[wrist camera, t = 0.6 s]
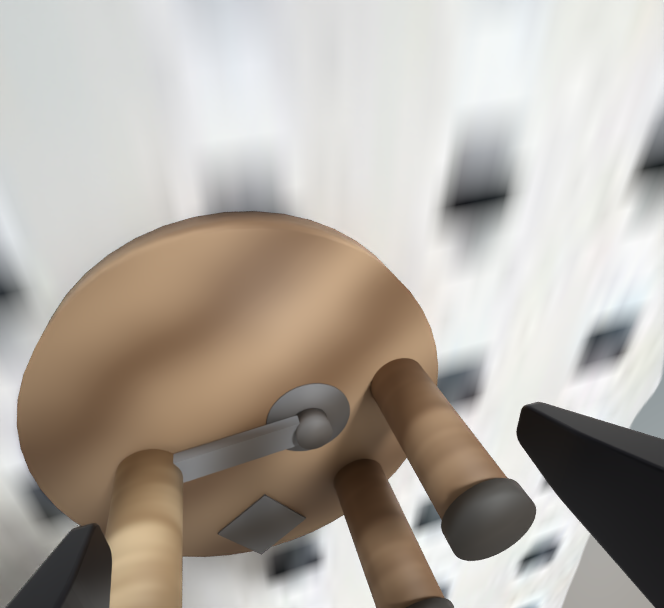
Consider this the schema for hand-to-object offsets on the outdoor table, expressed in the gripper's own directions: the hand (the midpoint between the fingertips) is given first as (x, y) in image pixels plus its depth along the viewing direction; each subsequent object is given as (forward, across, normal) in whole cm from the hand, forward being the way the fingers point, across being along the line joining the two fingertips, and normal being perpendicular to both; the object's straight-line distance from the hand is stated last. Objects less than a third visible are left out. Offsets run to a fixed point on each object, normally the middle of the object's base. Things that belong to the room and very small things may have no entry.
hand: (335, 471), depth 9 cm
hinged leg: (+10, -3, -9) cm, 14 cm away
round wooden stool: (+13, -1, -8) cm, 16 cm away
